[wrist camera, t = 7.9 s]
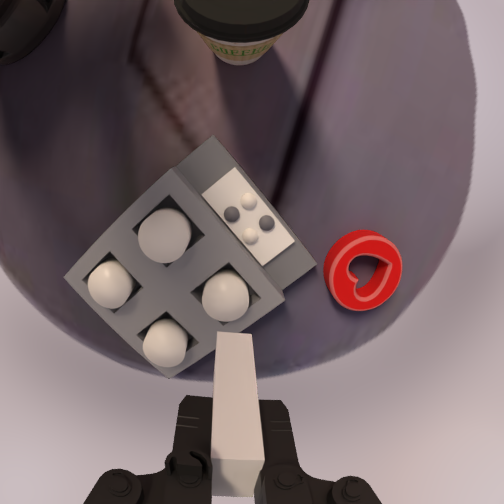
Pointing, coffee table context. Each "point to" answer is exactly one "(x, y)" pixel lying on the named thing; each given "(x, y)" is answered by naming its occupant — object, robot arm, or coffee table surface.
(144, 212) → the board
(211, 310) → the outer button
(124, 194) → the coffee table surface
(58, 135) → the coffee table surface
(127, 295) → the inner button
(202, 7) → the coffee cup
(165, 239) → the inner button
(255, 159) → the coffee table surface
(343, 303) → the decorative ornament
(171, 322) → the outer button
